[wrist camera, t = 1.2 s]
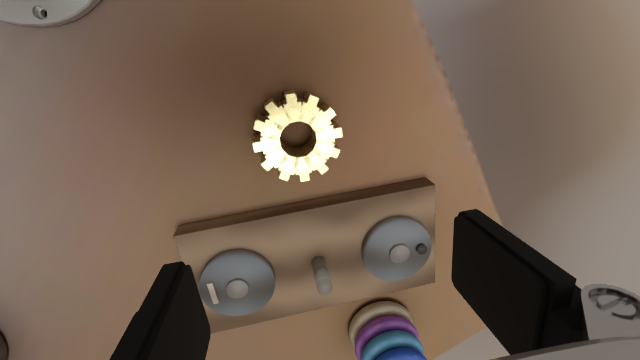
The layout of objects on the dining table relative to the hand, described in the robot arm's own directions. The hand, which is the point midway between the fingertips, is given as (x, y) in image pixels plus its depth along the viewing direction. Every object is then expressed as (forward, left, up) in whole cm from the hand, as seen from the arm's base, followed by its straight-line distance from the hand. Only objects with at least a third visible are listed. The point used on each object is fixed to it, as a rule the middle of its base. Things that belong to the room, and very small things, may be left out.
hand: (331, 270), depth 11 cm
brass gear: (-1, 0, -19) cm, 19 cm away
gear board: (+12, 0, -19) cm, 23 cm away
